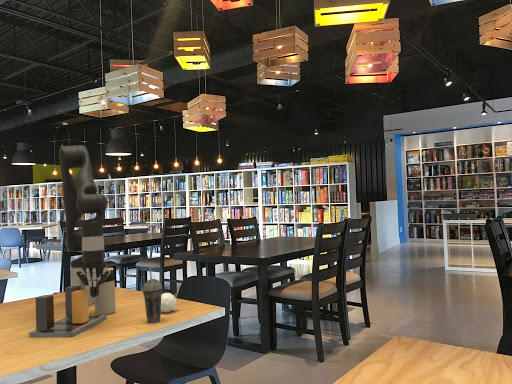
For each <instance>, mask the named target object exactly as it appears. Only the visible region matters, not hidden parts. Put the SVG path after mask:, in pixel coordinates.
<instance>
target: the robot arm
mask: <svg viewBox="0 0 512 384" xmlns="http://www.w3.org/2000/svg"><path fill="white" fill-rule="evenodd" d="M58 160H59V166H60V173H61V181H62V182H61V183H62V198H63V210H64V217H65V243H66V244H65V245H66V250H67V251H68V252H70V253H79V252H81V256H80V257H78V258H76V259H72V260H71V261H70V263H69V264H70V286H81V290H88V306H90V305H92V304H95V299H94V297H97V296H98V295H99V286H100V285H101V284H104V282H105V281H106V279H107V278H108V276H109V275H110V274H111V270H108V269H106V268H107V267H106V266H107V265H106V263H105V261H106V260H105V259H106V258H105V240H104V219H105V215H106V211H107V207H108V199H107V197H106V196H105V194H103V193H98V187H97V186H96V182H95V179H94V176H93V171H92V165H91V159H90V155H89V151H88V149H87V147H86V146H85V145H80V144H79V145H64V146H63V145H62V146H60V147H59V150H58ZM78 168H80V170H78V172H77V173H76V175H75V177H74V176H73V175H72V174H71V171H70V169H78ZM86 214H87V215H88V214H95V216H94V217H93V218H92V219H87V220H84V221H82V223H81V226H82V227H81V228H82V231H81V230H80V231H75V228H76V226H77V224H78V222H79V221H80V220H81V218H82V217H83V216H84V215H86ZM102 272H103V276H102V277H101V274H102ZM100 278H101V279H100Z"/></svg>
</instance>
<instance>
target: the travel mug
mask: <svg viewBox="0 0 512 384" xmlns="http://www.w3.org/2000/svg"><path fill="white" fill-rule="evenodd" d="M105 268H106V269H108V270H111V274H110V275H109V276H108V278H107V279H106V281H105V282H104V284H101V285H100V286H99V295H98V296H97V297H94V299H95V303H94V315H111V314H114V313H115V312H116V287H115V281H116V280H115V274H114V268H113V267H105ZM102 276H103V272H102V274H101V277H102ZM100 279H101V278H100Z"/></svg>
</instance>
